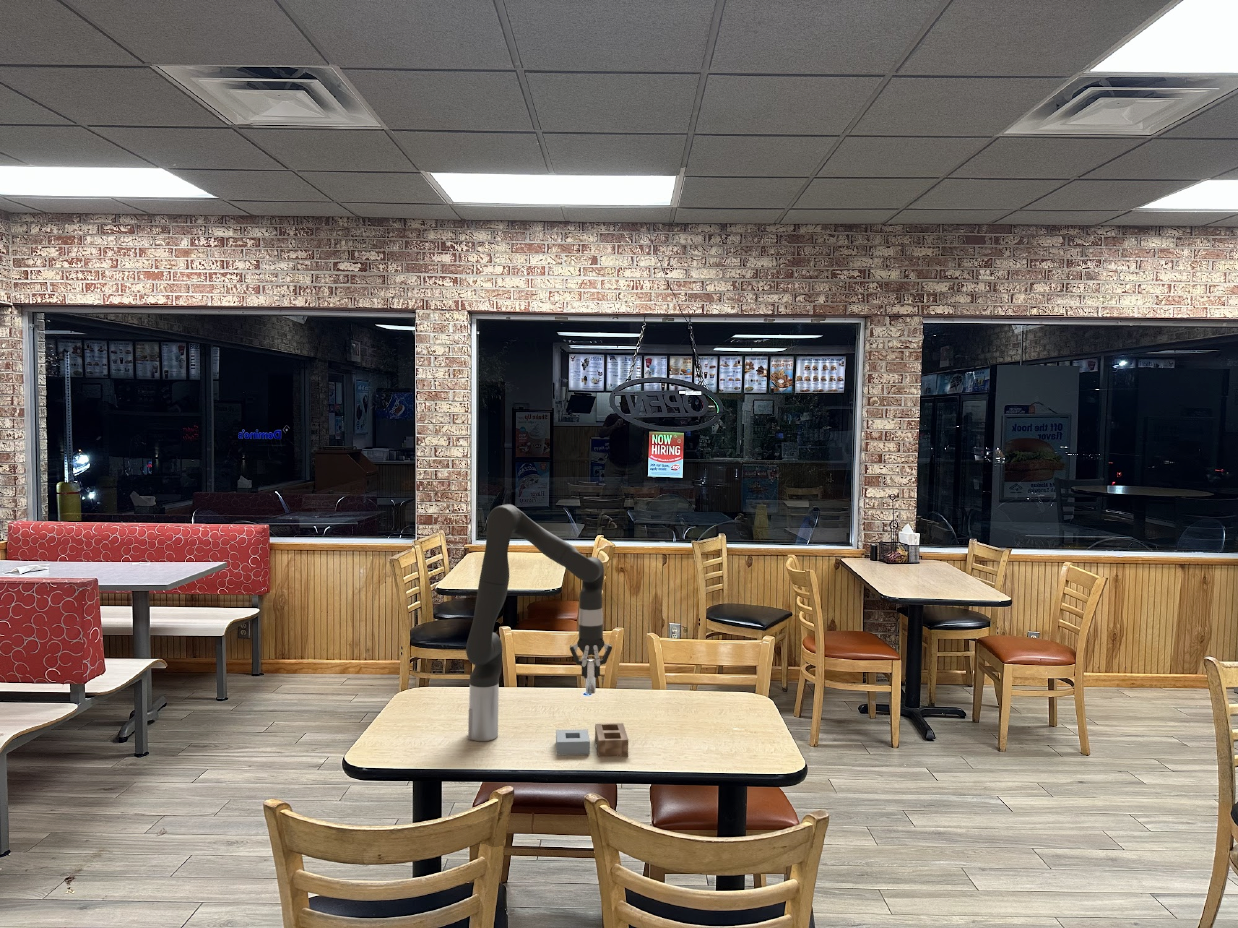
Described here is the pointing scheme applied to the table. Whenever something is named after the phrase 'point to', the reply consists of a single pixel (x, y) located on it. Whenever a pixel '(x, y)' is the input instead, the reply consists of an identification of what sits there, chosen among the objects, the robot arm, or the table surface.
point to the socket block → (572, 742)
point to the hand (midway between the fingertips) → (590, 677)
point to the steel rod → (590, 676)
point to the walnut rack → (611, 740)
